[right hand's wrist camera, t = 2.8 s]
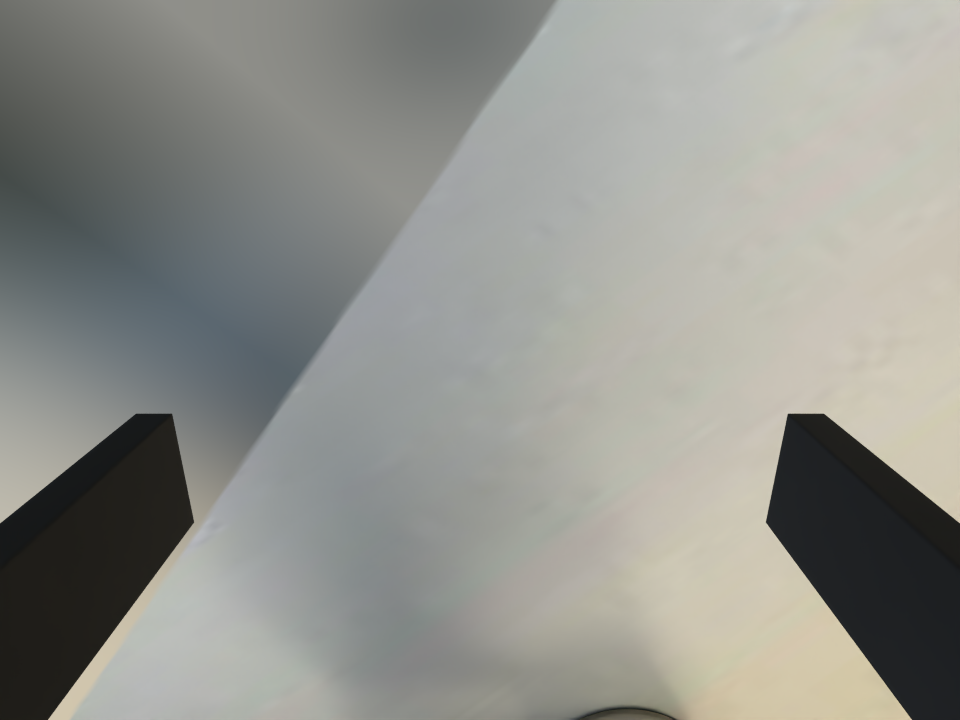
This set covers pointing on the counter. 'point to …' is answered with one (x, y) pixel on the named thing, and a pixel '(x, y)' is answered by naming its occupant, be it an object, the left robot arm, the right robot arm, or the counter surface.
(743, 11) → the counter surface
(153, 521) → the right robot arm
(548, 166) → the counter surface
